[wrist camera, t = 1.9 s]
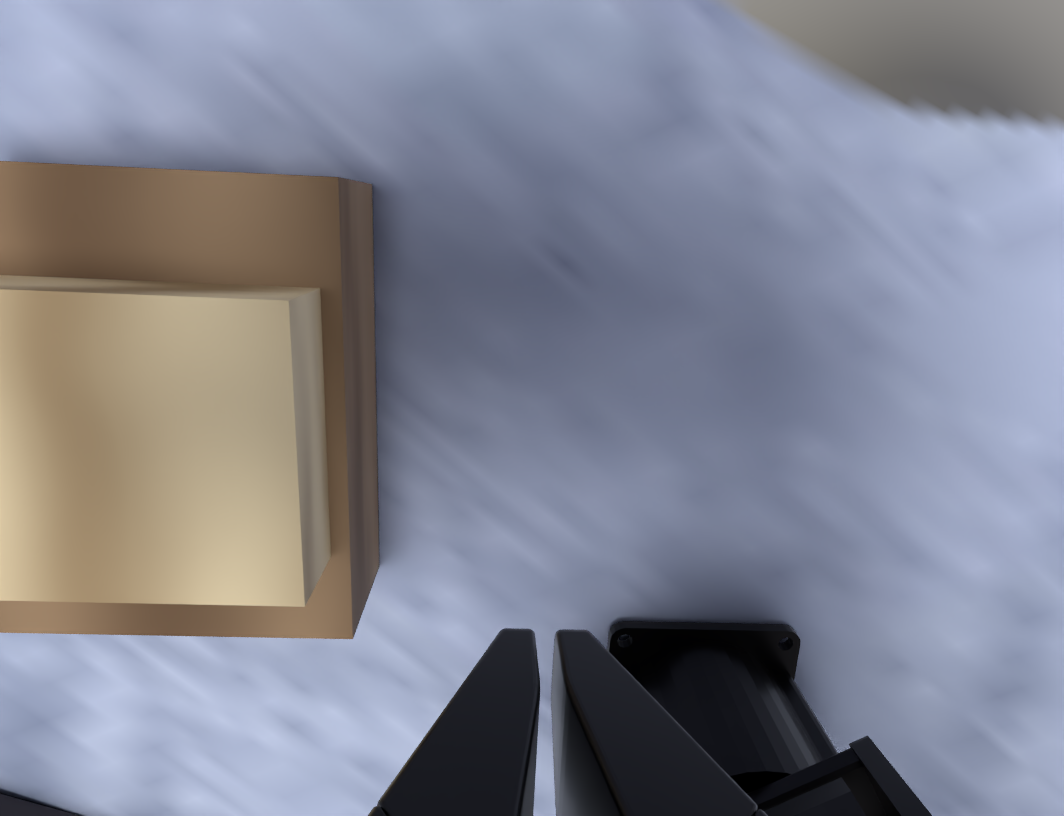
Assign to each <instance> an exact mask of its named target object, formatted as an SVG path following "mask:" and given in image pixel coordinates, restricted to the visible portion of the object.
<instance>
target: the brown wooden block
mask: <svg viewBox="0 0 1064 816" xmlns="http://www.w3.org/2000/svg"><path fill="white" fill-rule="evenodd" d="M0 275H11V276H36V277H60V278H85V279H110V280H134V281H159V282H183V283H208V284H232V285H257V286H281V287H306V288H320V296H321V321H322V345H323V370H324V395H325V420H326V445H327V470H328V494H329V519H330V544H331V557H330V559H329V561H328V563H327V565H326V567H325V569H324V571H323V573H322V575H321V577H320V578H319V580H318V582H317V584H316V586H315V588H314V590H313V592H312V594H311V596H310V598H309V600H308V602H307V604H306V606H305V607H290V606H241V605H193V604H144V603H95V602H46V601H0V632H1V633H55V634H109V635H163V636H217V637H271V638H325V639H353V637H354V634H355V632H356V629H357V626H358V623H359V621H360V618H361V615H362V612H363V610H364V607H365V604H366V601H367V599H368V596H369V593H370V591H371V588H372V585H373V582H374V580H375V577H376V574H377V571H378V569H379V521H378V467H377V414H376V361H375V308H374V255H373V202H372V184H369V183H364V182H359V181H354V180H349V179H344V178H340V177H323V176H303V175H282V174H261V173H240V172H219V171H198V170H177V169H156V168H135V167H114V166H93V165H72V164H52V163H31V162H10V161H0Z"/></svg>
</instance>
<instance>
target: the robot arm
mask: <svg viewBox="0 0 1064 816" xmlns="http://www.w3.org/2000/svg"><path fill="white" fill-rule="evenodd" d="M625 634H626V635H630V637H629V638H628V639H627V640H623V641H622V640H619V639H618V638H619V637H620V636H621V635H625ZM786 637H787V638H788V640H787V641H786V642H784V643H779V641H780V640H781V639H783V638H786ZM799 648H800V639H799V637H798V635H797V634H796V632H795V631H794V629H793V628H792V627H790V626H789V625H784V624H742V623H692V622H642V621H622V622H618V623H616V624H614V625H613V626H612V627H611V628H610V630H609V634H608V645H607V649H606V648H605V647H604V646H603V645H602V644H601V643H600V642H599V641H598V640H597V639H596V638H595V637H594V636H593V635H592V634H591V633H590V632H589V631H587V630H558V631H557V632H556V634H555V639H554V653H553V669H552V685H551V710H552V734H553V759H554V783H555V806H556V816H932V815H931V814H930V812H929V811H928V810H927V809H926V807H925V806H924V805H923V804H922V802H921V801H920V800H919V799H918V798H917V796H916V795H915V794H914V793H913V791H912V790H911V789H910V788H909V786H908V785H907V784H906V783H905V781H904V780H903V779H902V778H901V776H900V775H899V774H898V773H897V771H896V770H895V769H894V768H893V766H892V765H891V764H890V763H889V761H888V760H887V759H886V758H885V757H884V755H883V754H882V753H881V752H880V750H879V749H878V748H877V747H876V745H875V744H874V743H873V742H872V740H871V739H870V738H869V737H868V736H866V737H864V738H861V739H859V740H857V741H854V742H852V743H850V744H849V745H850V747H851V748H850V749H847V750H845V751H843V752H840V753H838V752H837V750H836V749H835V747H834V746H833V744H832V742H831V741H830V739H829V737H828V736H827V734H826V732H825V731H824V729H823V727H822V726H821V724H820V723H819V721H818V719H817V718H816V716H815V714H814V713H813V711H812V709H811V708H810V706H809V705H808V703H807V701H806V700H805V698H804V696H803V695H802V693H801V691H800V690H799V688H798V686H797V685H796V683H795V682H794V677H795V671H796V666H797V660H798V654H799ZM539 701H540V678H539V669H538V659H537V650H536V640H535V633H534V632H533V631H532V630H531V629H511V628H505V629H503V630H501V631H500V632H499V633H498V635H497V636H496V638H495V639H494V640H493V642H492V643H491V645H490V646H489V647H488V649H487V650H486V652H485V653H484V654H483V656H482V657H481V659H480V660H479V661H478V663H477V664H476V666H475V667H474V668H473V670H472V671H471V673H470V674H469V675H468V677H467V678H466V680H465V681H464V682H463V684H462V685H461V687H460V688H459V689H458V691H457V692H456V694H455V695H454V696H453V698H452V699H451V701H450V702H449V703H448V705H447V706H446V708H445V709H444V710H443V712H442V713H441V715H440V716H439V717H438V719H437V720H436V722H435V723H434V724H433V726H432V727H431V729H430V730H429V731H428V733H427V734H426V736H425V737H424V738H423V740H422V741H421V743H420V744H419V745H418V747H417V748H416V750H415V751H414V752H413V754H412V755H411V757H410V758H409V759H408V761H407V762H406V763H405V765H404V766H403V768H402V769H401V770H400V772H399V773H398V775H397V776H396V777H395V779H394V780H393V782H392V783H391V784H390V786H389V787H388V789H387V790H386V791H385V793H384V794H383V796H382V797H381V798H380V800H379V801H378V804H377V806H376V807H374V808H373V809H372V810H371V812H370V813H369V815H368V816H533V807H534V789H535V771H536V754H537V736H538V719H539Z"/></svg>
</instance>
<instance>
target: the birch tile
mask: <svg viewBox="0 0 1064 816" xmlns="http://www.w3.org/2000/svg"><path fill="white" fill-rule="evenodd" d="M330 557H331V544H330V519H329V494H328V470H327V445H326V420H325V395H324V370H323V345H322V321H321V296H320V288H306V287H281V286H257V285H232V284H208V283H183V282H159V281H134V280H110V279H85V278H60V277H36V276H11V275H0V601H46V602H95V603H144V604H193V605H241V606H290V607H305V606H306V604H307V602H308V600H309V598H310V596H311V594H312V592H313V590H314V588H315V586H316V584H317V582H318V580H319V578H320V577H321V575H322V573H323V571H324V569H325V567H326V565H327V563H328V561H329V559H330Z"/></svg>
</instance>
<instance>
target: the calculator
mask: <svg viewBox="0 0 1064 816" xmlns="http://www.w3.org/2000/svg"><path fill="white" fill-rule="evenodd" d="M0 816H79V815H75V814H72V813H68V812H64V811H61V810H57V809H53V808H50V807H46V806H42V805H39V804H35V803H32V802H28V801H24V800H21V799H17V798H14V797H10V796H6V795H3V794H0Z"/></svg>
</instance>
